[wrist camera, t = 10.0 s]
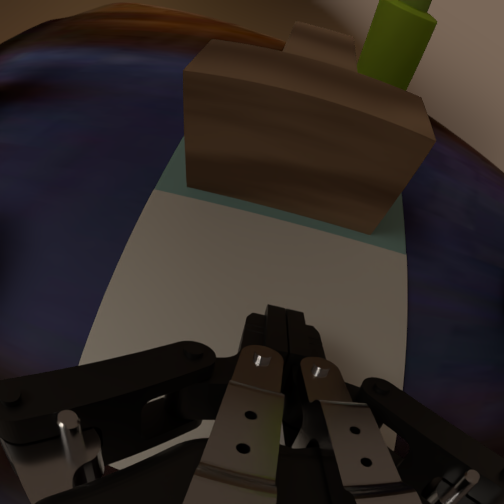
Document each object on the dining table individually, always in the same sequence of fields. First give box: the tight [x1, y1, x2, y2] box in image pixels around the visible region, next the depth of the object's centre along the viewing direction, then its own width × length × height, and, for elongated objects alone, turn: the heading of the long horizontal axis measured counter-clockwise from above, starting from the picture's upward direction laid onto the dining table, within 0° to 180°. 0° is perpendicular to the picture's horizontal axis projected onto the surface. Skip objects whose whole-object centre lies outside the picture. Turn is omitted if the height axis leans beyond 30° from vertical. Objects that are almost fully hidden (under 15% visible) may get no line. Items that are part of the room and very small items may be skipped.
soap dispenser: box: [357, 0, 437, 91], centre depth 23 cm, size 6×7×20 cm
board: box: [78, 137, 407, 470], centre depth 20 cm, size 30×18×1 cm, turn 168°
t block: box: [183, 21, 436, 235], centre depth 20 cm, size 12×13×9 cm
